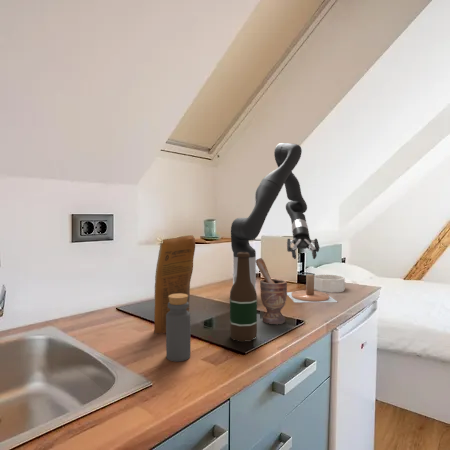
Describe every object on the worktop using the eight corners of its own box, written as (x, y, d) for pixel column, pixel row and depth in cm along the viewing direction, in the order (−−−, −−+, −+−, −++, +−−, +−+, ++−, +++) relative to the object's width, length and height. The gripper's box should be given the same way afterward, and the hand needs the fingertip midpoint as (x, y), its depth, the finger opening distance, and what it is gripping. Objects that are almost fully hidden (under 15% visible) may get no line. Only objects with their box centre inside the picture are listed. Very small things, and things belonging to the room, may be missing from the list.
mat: (294, 303, 130) (294, 302, 130) (285, 293, 147) (285, 292, 147) (338, 303, 131) (338, 301, 131) (323, 293, 148) (323, 291, 148)
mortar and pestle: (247, 321, 109) (247, 259, 109) (258, 314, 117) (258, 256, 116) (280, 327, 103) (281, 262, 103) (290, 319, 111) (290, 259, 110)
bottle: (191, 351, 85) (191, 292, 85) (189, 361, 79) (189, 298, 79) (168, 351, 85) (167, 292, 84) (164, 362, 79) (164, 298, 78)
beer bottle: (259, 334, 97) (259, 251, 97) (254, 344, 90) (254, 254, 89) (233, 331, 100) (233, 250, 99) (226, 341, 92) (226, 253, 91)
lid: (296, 301, 131) (297, 278, 131) (287, 292, 146) (288, 272, 146) (334, 301, 132) (334, 278, 132) (321, 292, 147) (322, 271, 147)
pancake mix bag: (202, 320, 110) (202, 235, 109) (162, 338, 94) (161, 238, 93) (186, 317, 114) (186, 234, 113) (144, 334, 98) (144, 237, 97)
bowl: (319, 293, 147) (319, 280, 147) (310, 287, 160) (310, 274, 160) (348, 293, 147) (349, 279, 147) (337, 287, 160) (337, 274, 160)
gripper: (286, 225, 159) (289, 252, 148) (316, 225, 158) (322, 252, 147) (284, 236, 164) (287, 263, 153) (314, 236, 164) (319, 263, 153)
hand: (304, 257), depth 150 cm, fingers open, 8 cm apart
